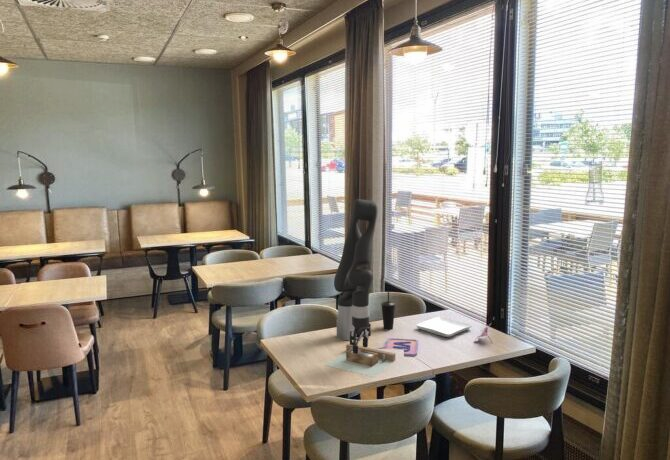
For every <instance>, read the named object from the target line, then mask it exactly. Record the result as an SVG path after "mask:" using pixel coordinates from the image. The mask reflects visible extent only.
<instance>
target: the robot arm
mask: <svg viewBox="0 0 670 460" xmlns="http://www.w3.org/2000/svg"><path fill="white" fill-rule="evenodd" d="M378 211H379V206H378V203H377V202H376V201H373V200H369V199H360V198H358V199H355V200H354V202H353V204H352V210H351V215H350V220H349V226H348V230H347V233H346V237H345V241H344V246H343V250H342V255H341V259H340V262H339V264H338V267H337V270H336V273H335V275H334V279H333V287H334V289H335V291H337V292H339V293H344V292H345V293H344V294H342V295H341V296H339V297H338V299H337V318H336V338H338V339H339V340H342V341H349V344H350V345H353V353H355V354H357V353H358V346H359V343H360V341H361V340H362V347H366V348H369V347H368V344H369V342H368V341H369V339H370V337H371V335H372V333H371V332H372V329H371V328H372V327H371V323H370V305H369V304H370V301H369V299H370V297H369V296H370V291H371V287H372V284H373V280H374V274H373V272H372V271H371V270H370V269H360V268H361V267H366V266H368V265H370V263H371V255H372V252H371V251H372V245H373V244H372V243H373V238H374V234H375V229H376V224H377V219H378ZM359 220H360V221H363V222H364V221H366V222H368V224H367V228H366V229H365V231H364V232H363V233H361V231H360V228H359V224H358V222H359ZM358 287H364V288H363V289H358Z"/></svg>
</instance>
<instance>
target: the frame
mask: <svg viewBox="0 0 670 460" xmlns="http://www.w3.org/2000/svg"><path fill="white" fill-rule="evenodd" d="M345 352H346V351H345ZM346 361H350V362H354V363H359V364H363V365H367V366H372V367H373V366H374V365H375V364H377V363H378V353H374V352H369V351H365V350H360V349H358V353H357V354H355V353H353V348H351V349H350V350H348V351H347V352H346Z"/></svg>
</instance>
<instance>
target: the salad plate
mask: <svg viewBox="0 0 670 460" xmlns="http://www.w3.org/2000/svg"><path fill="white" fill-rule="evenodd" d="M415 326H416V327H417V328H418V329H420V330H422V331H425V332H427V333H430V334H435V335H438V336H441V337H444V338H445V337H446V338H450V337H452V336H455V335H457V334H460V333H461V332H465V331H467V330H469V329H470V328H472V326H473V324H469V323H467V322H464V321H463V322H462V321H460V320H458V319H457V320H456V319H451V318H448V317H445V316H441V315H439V316H436V317H433V318H431V319H427V320H424V321H422V322H419V323H417V324H416V325H415Z"/></svg>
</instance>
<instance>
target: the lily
mask: <svg viewBox="0 0 670 460" xmlns="http://www.w3.org/2000/svg"><path fill="white" fill-rule="evenodd" d="M491 325H492V323H490V324H489V325H488V324H487V325H486V326H485V328H484V329H482V331H481V332H482V333H481V334H480V335H479V336H477V337H476V338H475V339H474V341H476V340H477V339H479V338H481V337H482V338H483V337H487V338H489V340H490V342H491V343H492V342H493V341H492V339H491V337H490V336H489V333H488V331H489V330H488V329H489V327H490V326H491Z"/></svg>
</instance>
